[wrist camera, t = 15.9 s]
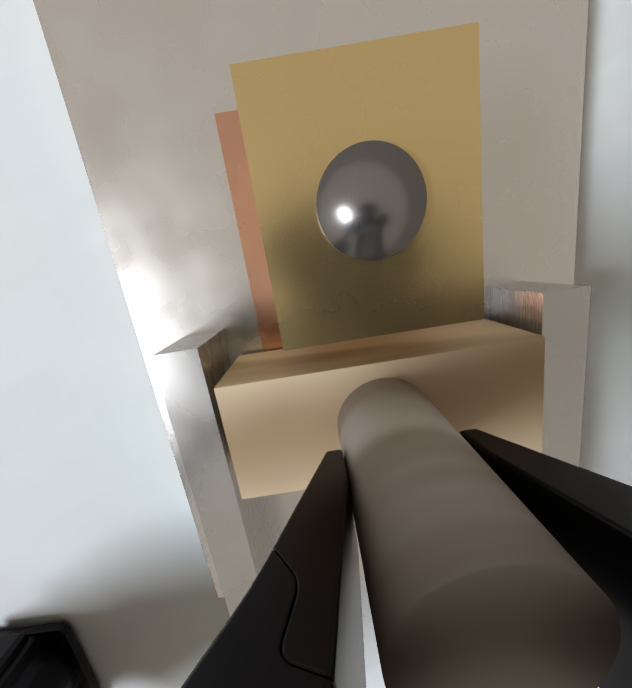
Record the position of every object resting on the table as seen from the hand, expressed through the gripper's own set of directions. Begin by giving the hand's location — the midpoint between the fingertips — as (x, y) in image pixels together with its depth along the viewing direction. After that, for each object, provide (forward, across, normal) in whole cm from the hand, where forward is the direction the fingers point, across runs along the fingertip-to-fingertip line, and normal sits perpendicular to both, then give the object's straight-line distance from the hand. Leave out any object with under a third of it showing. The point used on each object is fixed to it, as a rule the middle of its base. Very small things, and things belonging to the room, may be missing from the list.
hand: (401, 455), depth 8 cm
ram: (+5, 0, 0) cm, 5 cm away
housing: (+5, 0, -6) cm, 8 cm away
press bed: (+7, 0, -2) cm, 7 cm away
